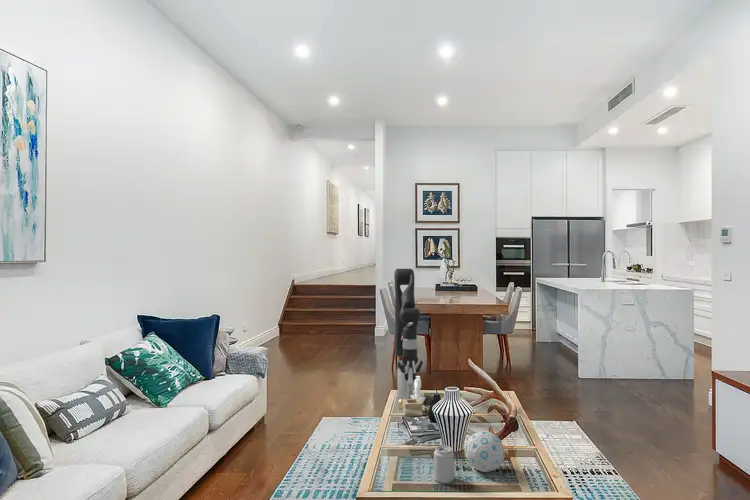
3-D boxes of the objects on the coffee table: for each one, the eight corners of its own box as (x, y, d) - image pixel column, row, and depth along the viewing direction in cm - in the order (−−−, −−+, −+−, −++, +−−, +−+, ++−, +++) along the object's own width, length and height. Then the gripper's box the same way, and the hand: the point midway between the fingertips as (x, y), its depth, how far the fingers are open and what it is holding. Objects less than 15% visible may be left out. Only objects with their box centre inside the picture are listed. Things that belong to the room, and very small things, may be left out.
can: (440, 473, 202) (440, 442, 202) (457, 479, 197) (457, 447, 197) (430, 480, 196) (429, 448, 196) (447, 486, 191) (447, 454, 191)
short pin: (398, 408, 281) (398, 398, 281) (404, 407, 282) (403, 398, 282) (399, 409, 278) (399, 400, 278) (404, 409, 279) (404, 400, 279)
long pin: (406, 385, 270) (406, 366, 269) (412, 385, 270) (412, 366, 270) (407, 387, 267) (407, 367, 266) (413, 387, 267) (413, 367, 267)
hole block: (402, 410, 277) (402, 399, 277) (419, 409, 278) (418, 398, 278) (405, 416, 269) (405, 404, 268) (422, 415, 270) (422, 403, 269)
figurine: (422, 400, 295) (421, 373, 295) (426, 405, 286) (425, 378, 286) (409, 400, 294) (409, 374, 294) (413, 405, 285) (412, 378, 285)
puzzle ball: (457, 469, 206) (457, 431, 205) (481, 458, 215) (481, 422, 215) (488, 482, 194) (488, 442, 194) (512, 471, 204) (512, 433, 203)
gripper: (421, 345, 272) (422, 377, 273) (395, 345, 271) (395, 378, 271) (424, 348, 265) (425, 381, 265) (397, 349, 263) (397, 382, 264)
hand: (410, 380), depth 268 cm, fingers closed on long pin, 3 cm apart
